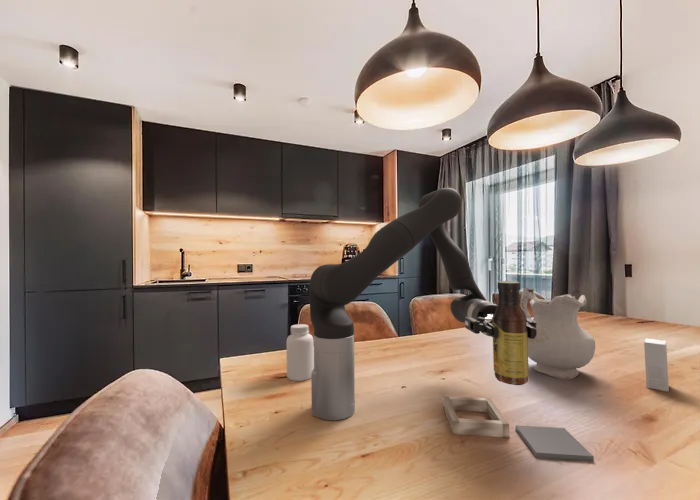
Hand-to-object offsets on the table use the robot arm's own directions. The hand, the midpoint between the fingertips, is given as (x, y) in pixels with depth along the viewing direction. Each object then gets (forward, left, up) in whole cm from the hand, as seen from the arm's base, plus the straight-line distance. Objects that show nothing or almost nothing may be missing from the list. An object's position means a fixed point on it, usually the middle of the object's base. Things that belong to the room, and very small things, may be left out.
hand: (514, 333), depth 60 cm
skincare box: (+46, +30, -20) cm, 58 cm away
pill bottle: (-51, +26, -20) cm, 61 cm away
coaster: (+5, -2, -20) cm, 20 cm away
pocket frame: (-7, +5, -20) cm, 22 cm away
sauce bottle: (0, +3, -10) cm, 10 cm away
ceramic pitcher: (+25, +40, -20) cm, 52 cm away
